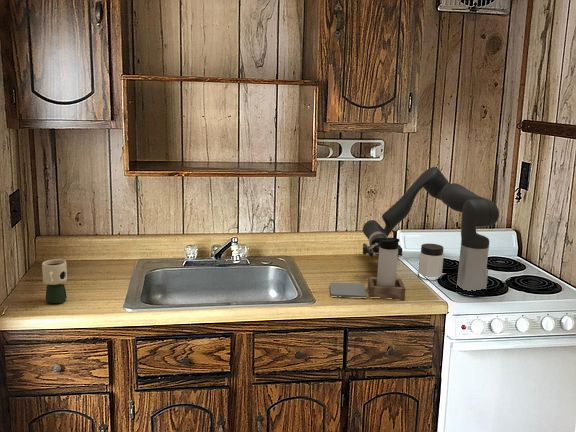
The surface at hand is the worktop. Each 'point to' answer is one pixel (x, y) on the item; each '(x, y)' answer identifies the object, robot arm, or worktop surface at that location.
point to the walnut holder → (386, 289)
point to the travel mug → (387, 262)
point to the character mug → (55, 280)
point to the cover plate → (347, 290)
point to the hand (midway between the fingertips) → (384, 255)
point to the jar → (431, 260)
